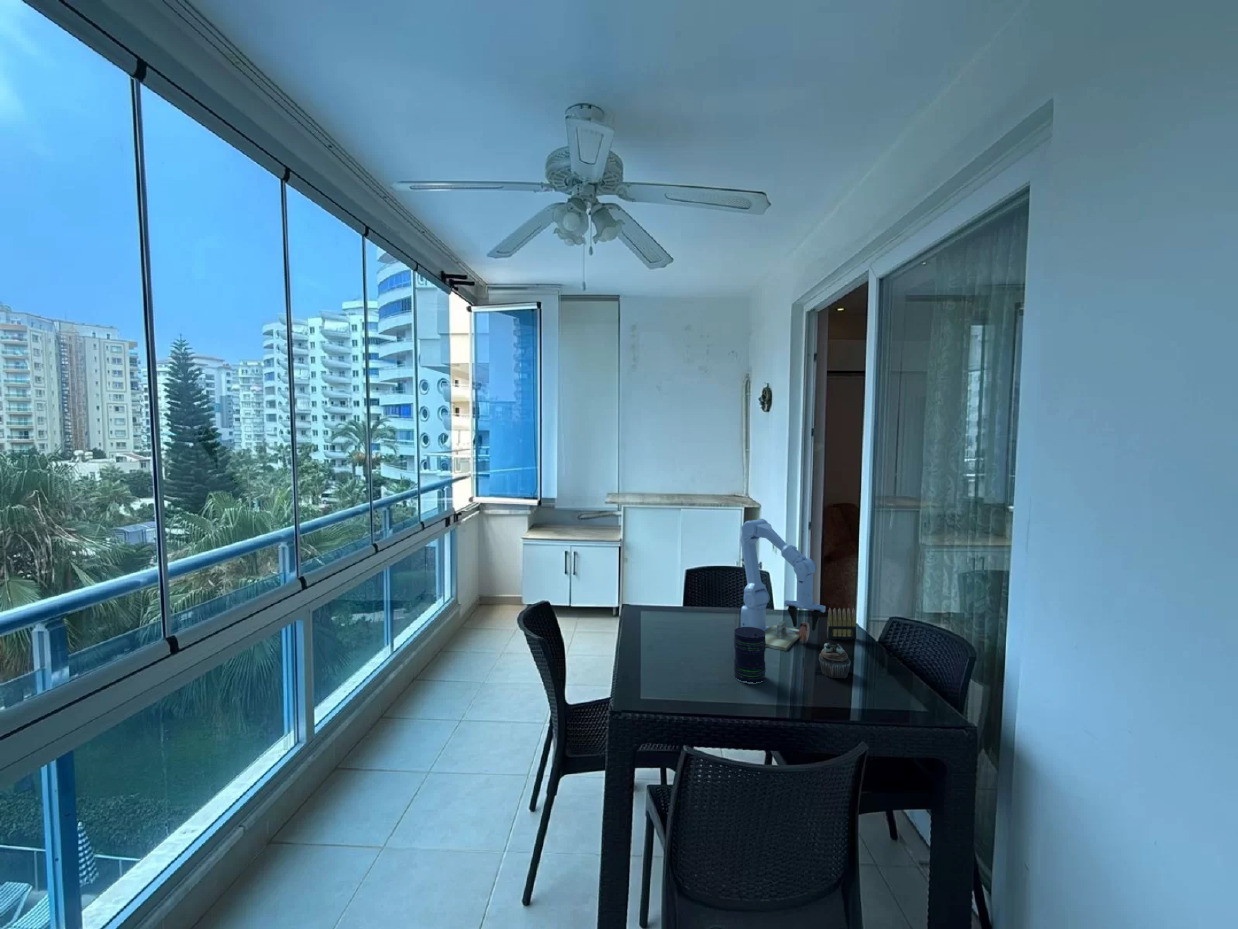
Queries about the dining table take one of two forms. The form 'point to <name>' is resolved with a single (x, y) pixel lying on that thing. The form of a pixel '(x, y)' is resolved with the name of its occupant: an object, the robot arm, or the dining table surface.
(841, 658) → the cupcake
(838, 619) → the ammunition clip
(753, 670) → the storage jar
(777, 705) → the dining table surface
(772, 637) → the eye bracket
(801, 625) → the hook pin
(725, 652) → the dining table surface
